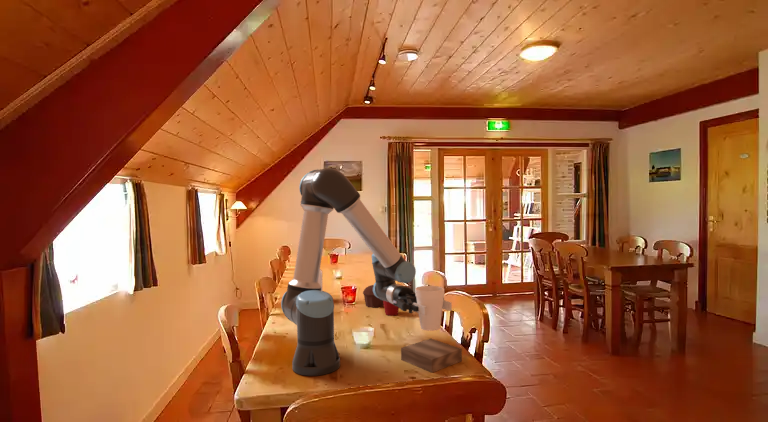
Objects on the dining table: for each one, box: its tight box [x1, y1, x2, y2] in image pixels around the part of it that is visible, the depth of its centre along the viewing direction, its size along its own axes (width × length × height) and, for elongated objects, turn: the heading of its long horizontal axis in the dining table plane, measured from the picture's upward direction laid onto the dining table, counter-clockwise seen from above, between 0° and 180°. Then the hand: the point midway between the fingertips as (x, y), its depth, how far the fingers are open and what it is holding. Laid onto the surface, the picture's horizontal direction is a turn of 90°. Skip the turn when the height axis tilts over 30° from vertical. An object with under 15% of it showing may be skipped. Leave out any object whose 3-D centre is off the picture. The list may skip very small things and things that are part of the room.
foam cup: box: [414, 285, 445, 332], centre depth 141 cm, size 10×9×13 cm
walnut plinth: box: [400, 338, 463, 373], centre depth 141 cm, size 14×14×4 cm
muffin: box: [362, 284, 384, 309], centre depth 214 cm, size 12×11×10 cm
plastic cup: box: [383, 301, 400, 317], centre depth 198 cm, size 11×11×12 cm
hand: (438, 308), depth 137 cm, fingers closed on foam cup, 9 cm apart
